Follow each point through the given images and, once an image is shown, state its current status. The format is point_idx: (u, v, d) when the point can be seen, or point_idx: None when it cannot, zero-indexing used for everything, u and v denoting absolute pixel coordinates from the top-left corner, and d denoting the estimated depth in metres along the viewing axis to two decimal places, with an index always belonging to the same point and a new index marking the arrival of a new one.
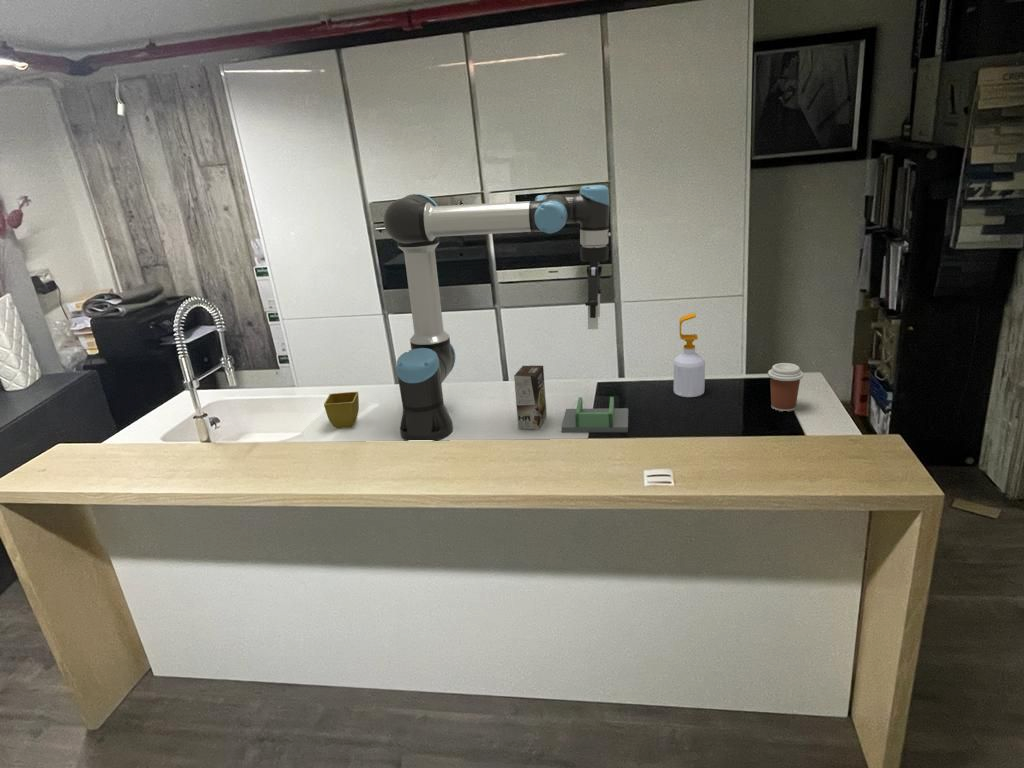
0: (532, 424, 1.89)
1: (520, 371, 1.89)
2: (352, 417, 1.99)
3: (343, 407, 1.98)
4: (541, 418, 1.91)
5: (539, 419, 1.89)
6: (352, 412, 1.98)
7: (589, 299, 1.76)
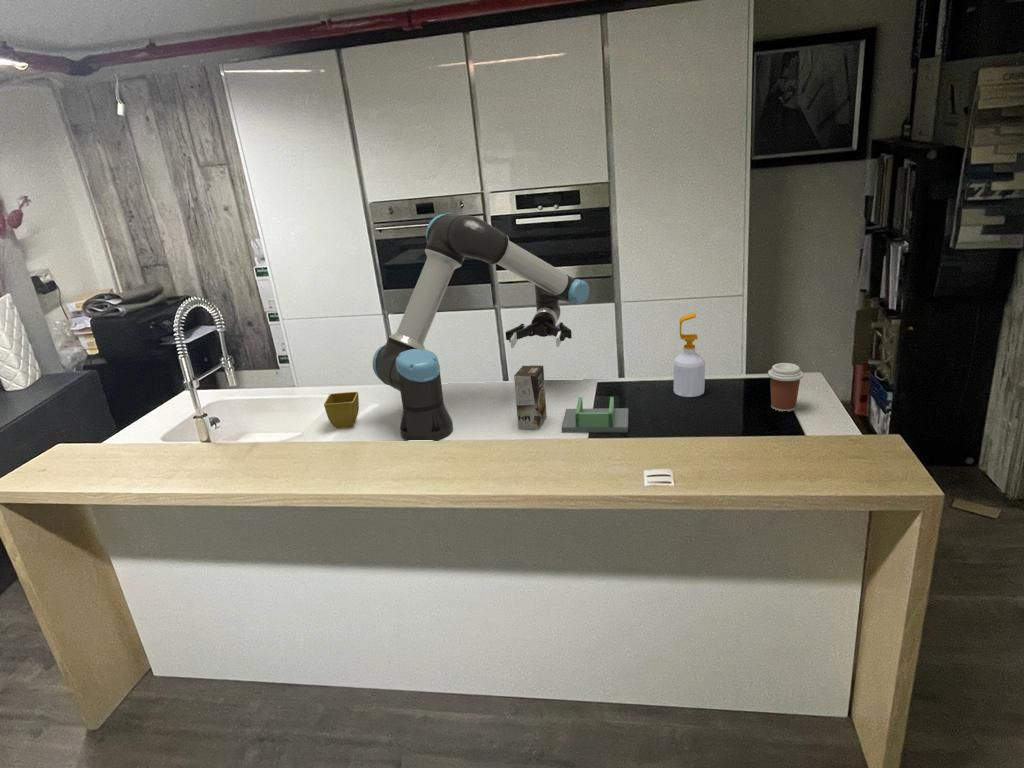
0: (532, 424, 1.89)
1: (520, 371, 1.89)
2: (352, 417, 1.99)
3: (343, 407, 1.98)
4: (541, 418, 1.91)
5: (539, 419, 1.89)
6: (352, 412, 1.98)
7: None
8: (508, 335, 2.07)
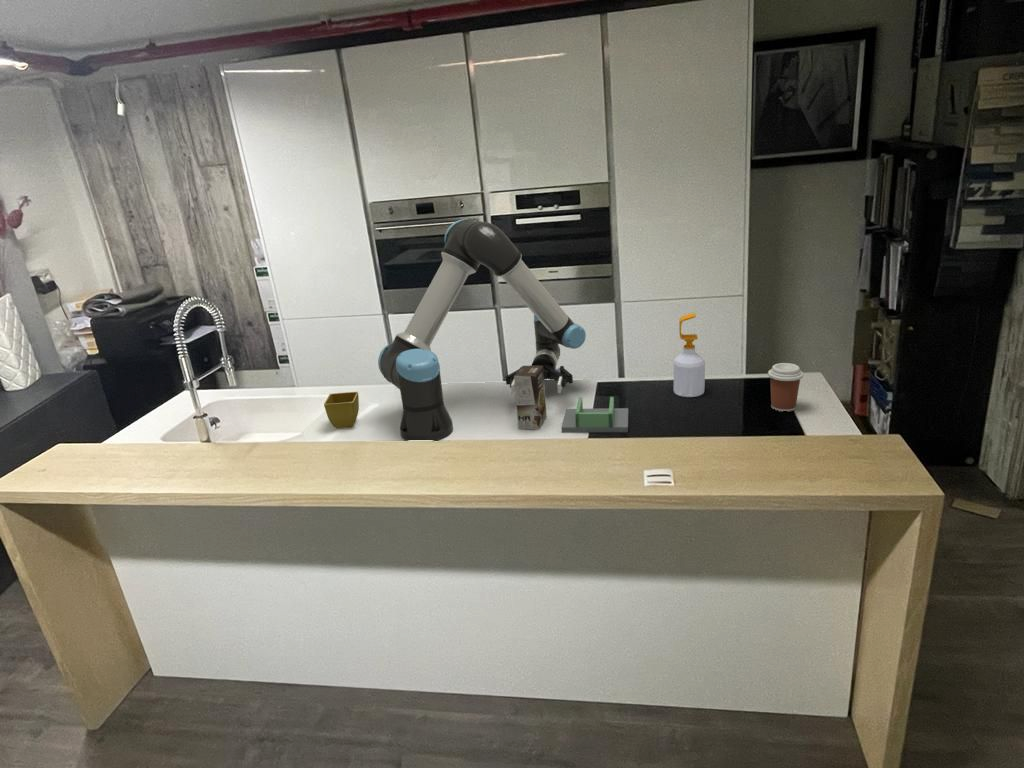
0: (532, 424, 1.89)
1: (520, 371, 1.89)
2: (352, 417, 1.99)
3: (343, 407, 1.98)
4: (541, 418, 1.91)
5: (539, 419, 1.89)
6: (352, 412, 1.98)
7: None
8: (508, 380, 2.04)
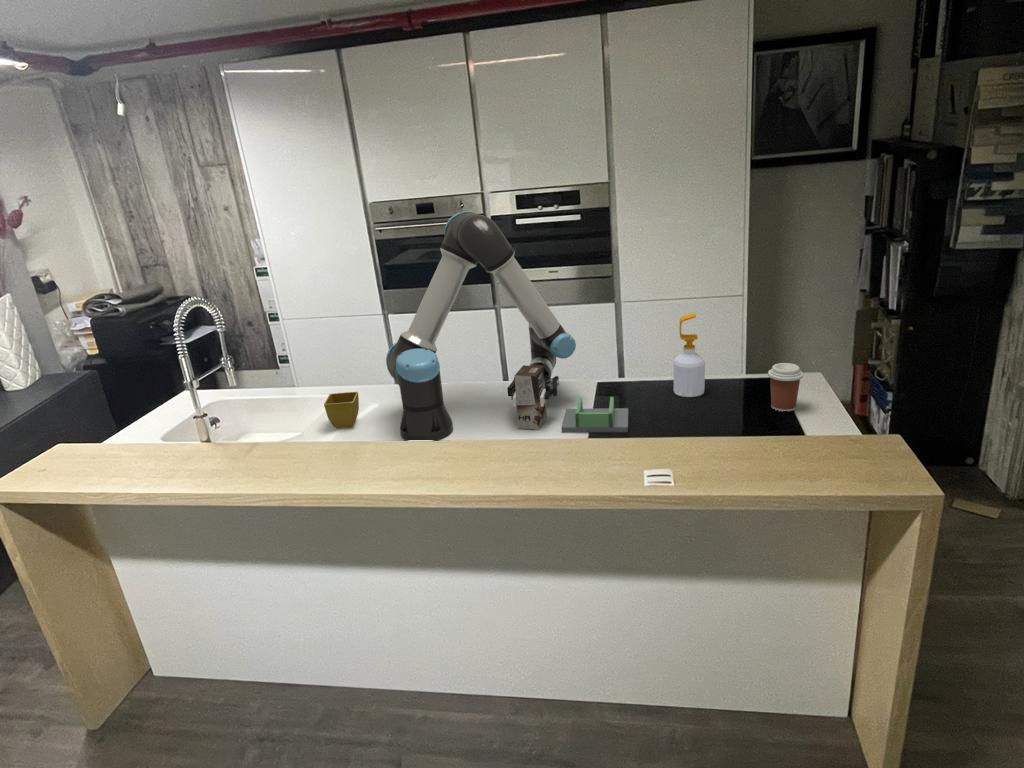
0: (532, 423, 1.89)
1: (520, 371, 1.89)
2: (352, 417, 1.99)
3: (343, 407, 1.98)
4: (541, 418, 1.91)
5: (539, 419, 1.89)
6: (352, 412, 1.98)
7: (556, 387, 1.93)
8: (510, 391, 1.94)
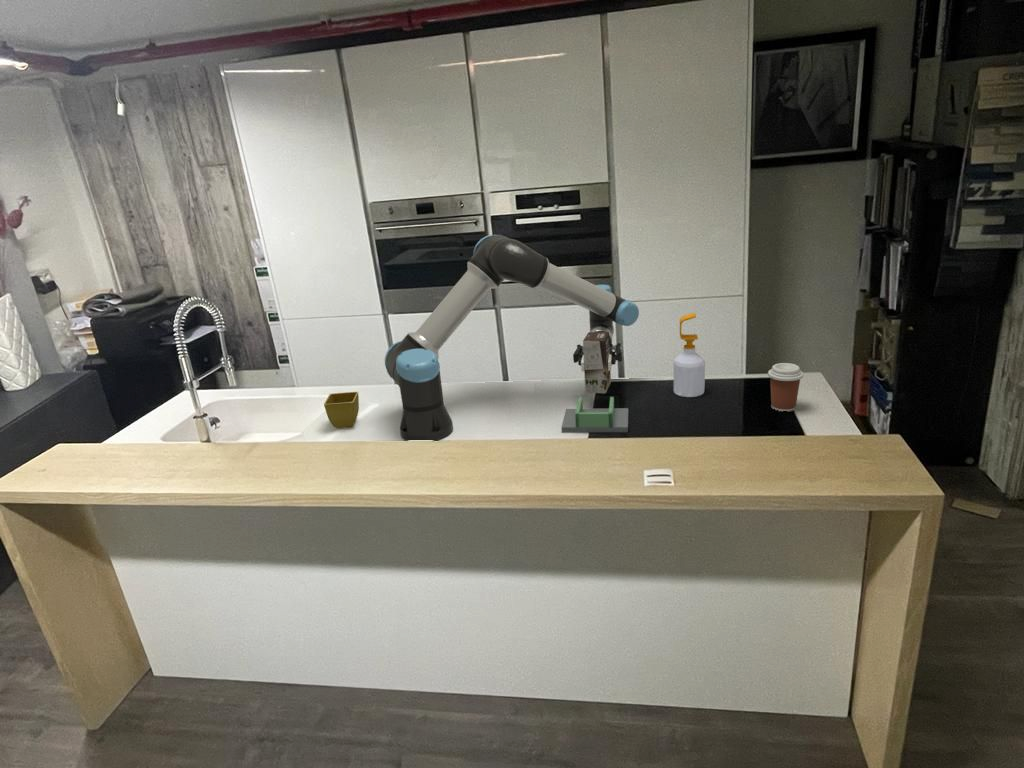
0: (600, 387, 1.96)
1: (588, 337, 1.95)
2: (352, 417, 1.99)
3: (343, 407, 1.98)
4: (607, 382, 1.98)
5: (606, 383, 1.96)
6: (352, 412, 1.98)
7: None
8: (576, 357, 2.01)
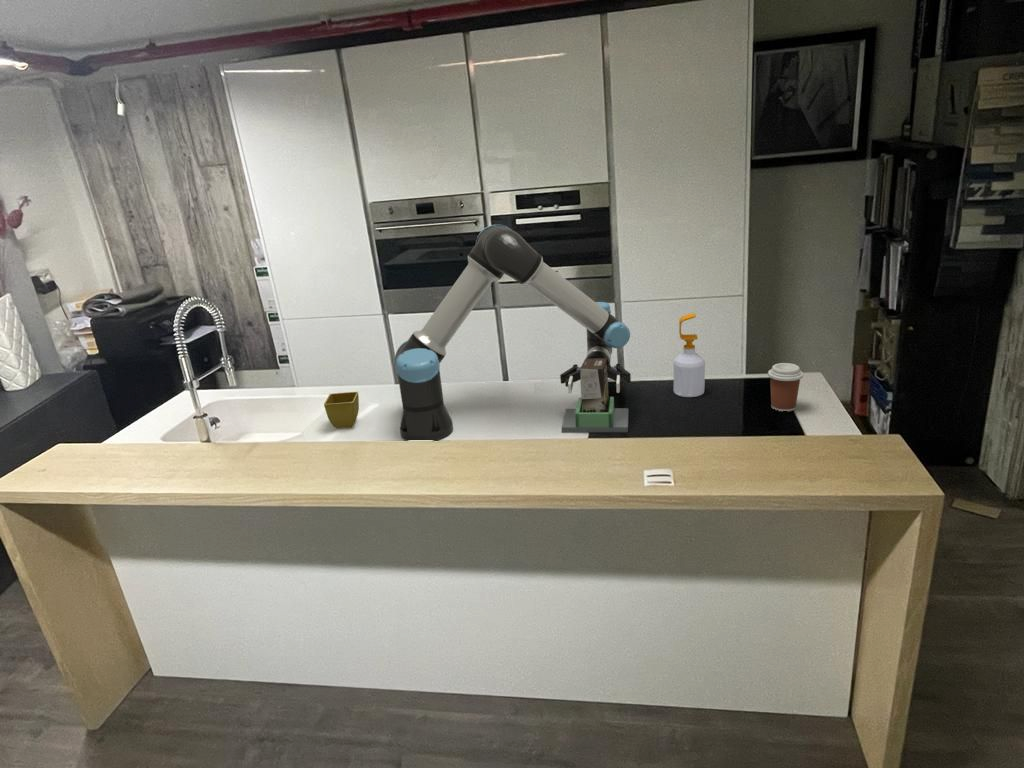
0: None
1: (585, 364, 1.85)
2: (352, 417, 1.99)
3: (343, 407, 1.98)
4: None
5: None
6: (352, 412, 1.98)
7: None
8: (563, 378, 1.92)
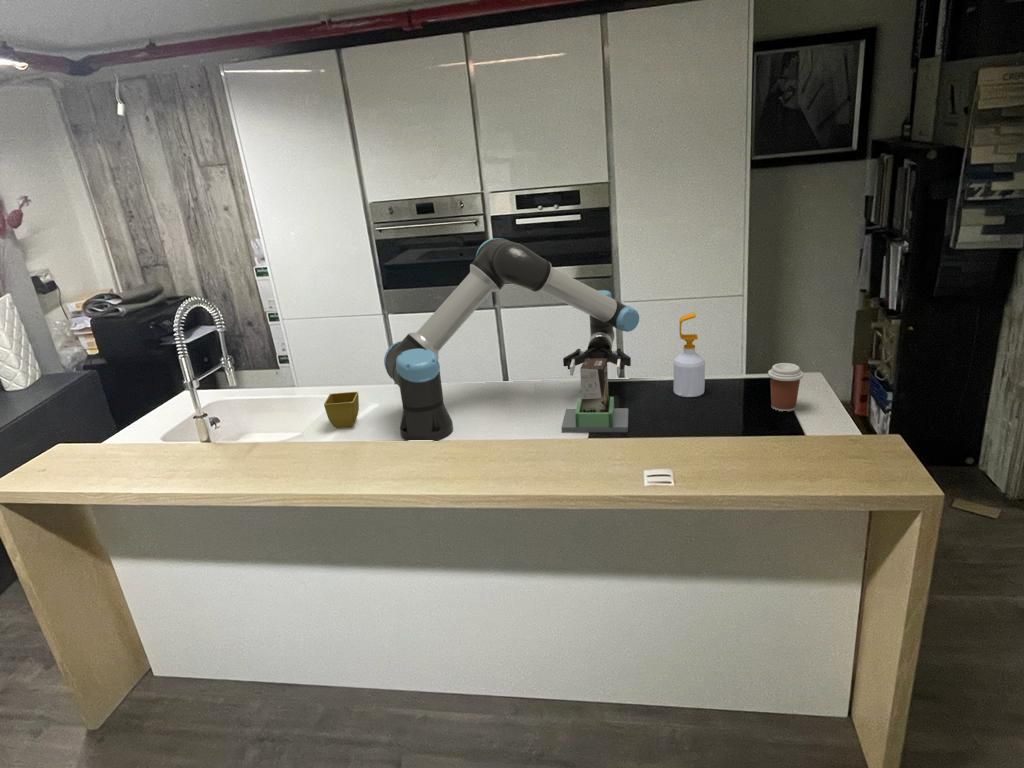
0: None
1: (585, 364, 1.85)
2: (352, 417, 1.99)
3: (343, 407, 1.98)
4: None
5: None
6: (352, 412, 1.98)
7: None
8: (566, 361, 2.05)
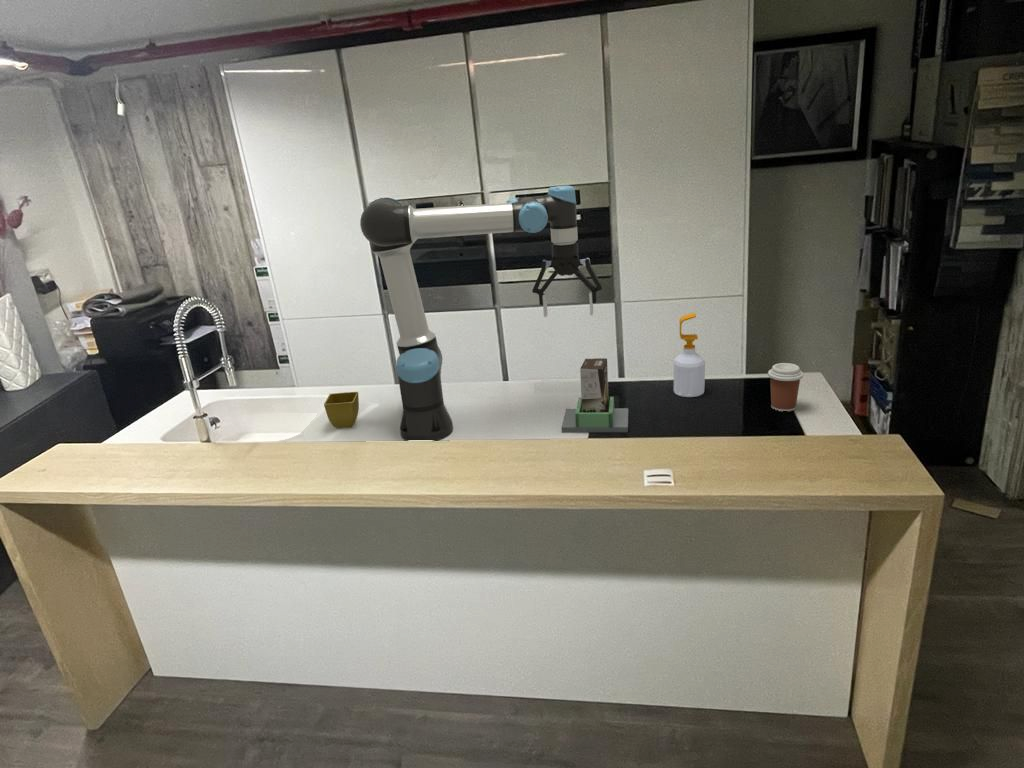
0: None
1: (585, 364, 1.85)
2: (352, 417, 1.99)
3: (343, 407, 1.98)
4: None
5: None
6: (352, 412, 1.98)
7: (600, 285, 1.94)
8: None
